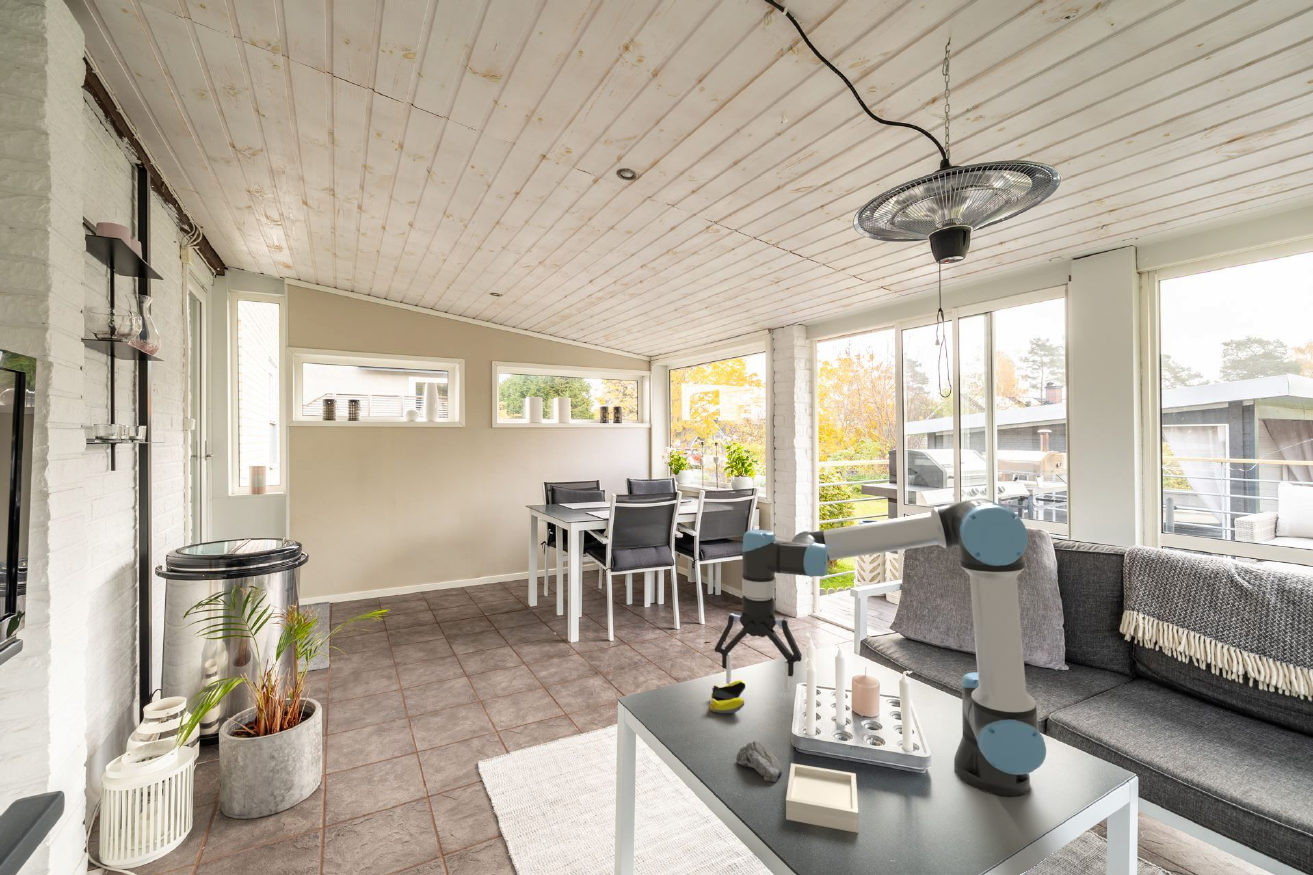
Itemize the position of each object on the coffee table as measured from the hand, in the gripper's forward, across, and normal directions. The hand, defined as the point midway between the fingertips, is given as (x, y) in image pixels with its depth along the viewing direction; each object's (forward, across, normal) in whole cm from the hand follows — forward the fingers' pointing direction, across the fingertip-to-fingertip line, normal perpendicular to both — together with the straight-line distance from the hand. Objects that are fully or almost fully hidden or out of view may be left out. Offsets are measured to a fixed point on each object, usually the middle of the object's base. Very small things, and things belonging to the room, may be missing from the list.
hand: (757, 685), depth 137 cm
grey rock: (+20, -1, 0) cm, 20 cm away
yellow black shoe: (+20, +12, -29) cm, 37 cm away
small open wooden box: (+19, -15, +10) cm, 27 cm away
